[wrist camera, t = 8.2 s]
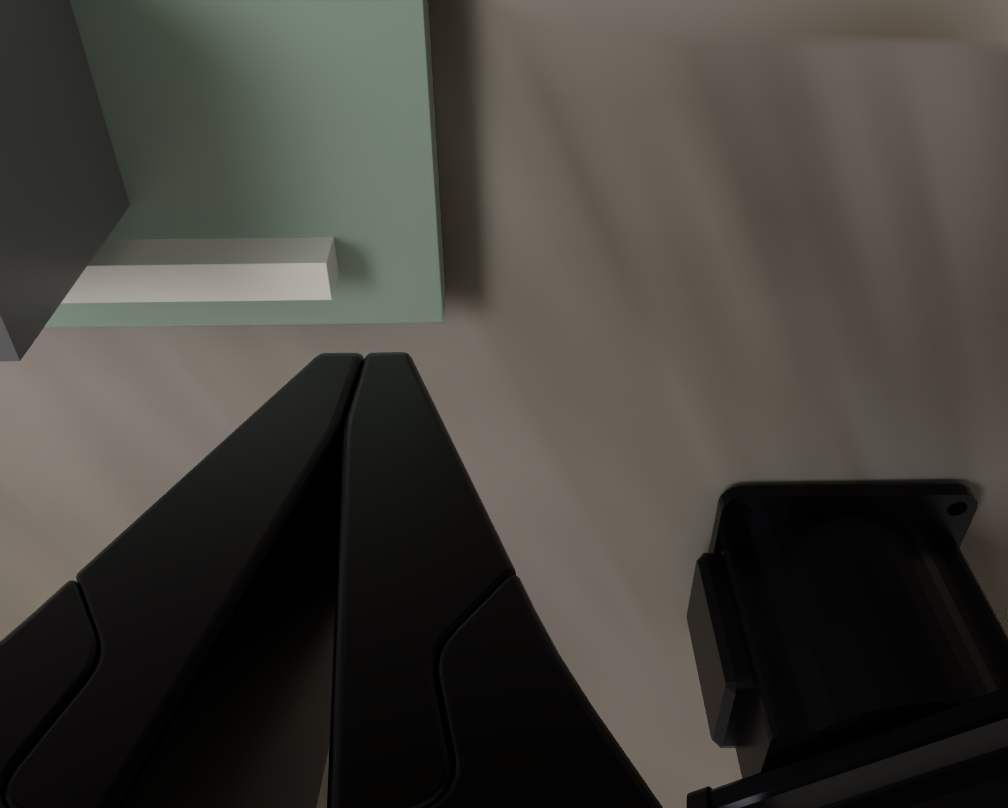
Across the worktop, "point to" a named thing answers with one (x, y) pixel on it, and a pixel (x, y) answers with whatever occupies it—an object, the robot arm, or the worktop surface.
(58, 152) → the dark grey cube
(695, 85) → the worktop surface
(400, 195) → the header board
